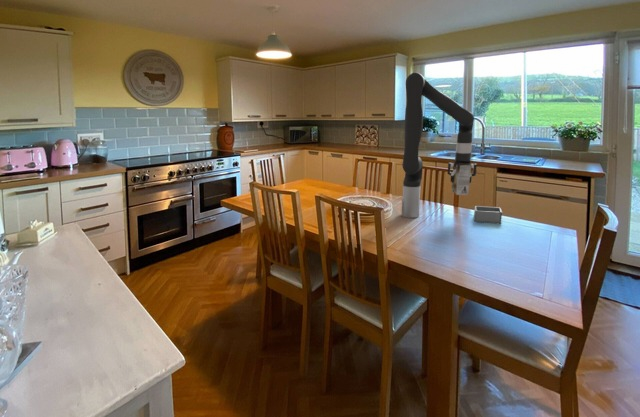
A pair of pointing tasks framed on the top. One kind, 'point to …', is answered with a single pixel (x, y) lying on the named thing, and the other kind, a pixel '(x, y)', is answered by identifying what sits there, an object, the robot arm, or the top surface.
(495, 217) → the bin
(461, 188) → the coffee box
